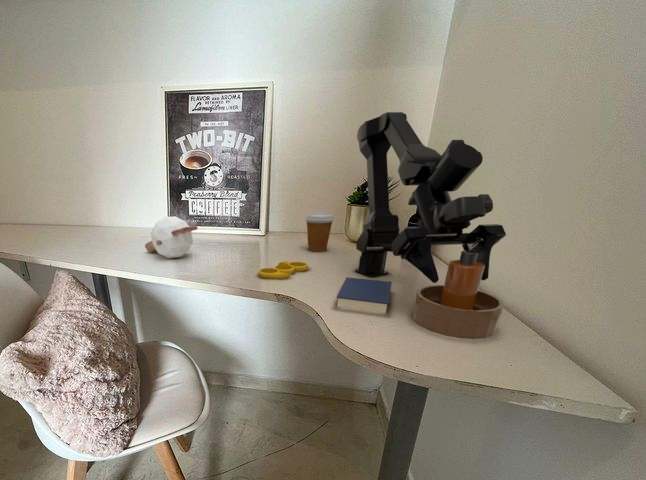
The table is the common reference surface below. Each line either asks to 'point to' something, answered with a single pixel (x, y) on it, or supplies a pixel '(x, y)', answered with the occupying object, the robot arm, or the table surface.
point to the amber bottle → (462, 281)
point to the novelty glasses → (282, 270)
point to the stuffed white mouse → (171, 237)
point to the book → (364, 294)
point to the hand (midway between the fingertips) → (460, 280)
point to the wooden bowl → (457, 314)
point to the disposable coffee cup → (318, 231)
